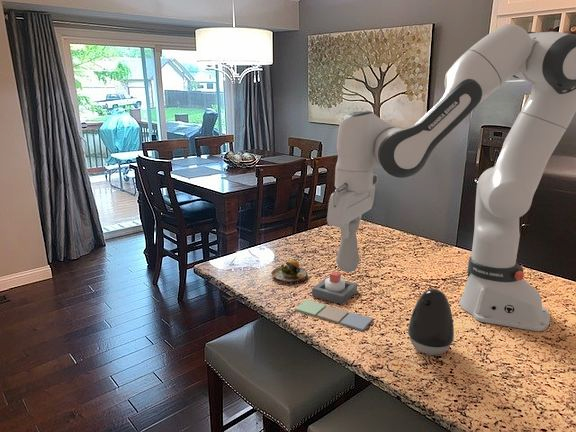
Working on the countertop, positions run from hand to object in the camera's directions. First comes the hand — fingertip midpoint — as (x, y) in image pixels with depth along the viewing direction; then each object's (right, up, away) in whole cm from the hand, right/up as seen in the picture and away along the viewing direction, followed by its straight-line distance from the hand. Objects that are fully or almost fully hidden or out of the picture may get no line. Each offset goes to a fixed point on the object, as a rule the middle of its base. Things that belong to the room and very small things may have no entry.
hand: (349, 234), depth 109 cm
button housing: (-1, -19, +22) cm, 29 cm away
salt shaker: (0, -9, +3) cm, 10 cm away
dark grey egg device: (+18, -27, -6) cm, 33 cm away
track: (-3, -22, +10) cm, 25 cm away
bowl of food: (-15, -16, +34) cm, 40 cm away
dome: (-1, -18, +22) cm, 29 cm away
